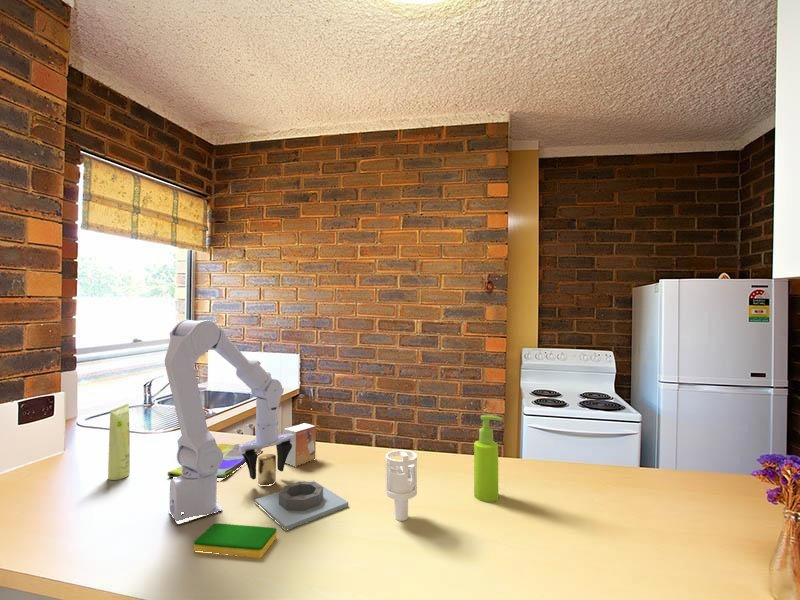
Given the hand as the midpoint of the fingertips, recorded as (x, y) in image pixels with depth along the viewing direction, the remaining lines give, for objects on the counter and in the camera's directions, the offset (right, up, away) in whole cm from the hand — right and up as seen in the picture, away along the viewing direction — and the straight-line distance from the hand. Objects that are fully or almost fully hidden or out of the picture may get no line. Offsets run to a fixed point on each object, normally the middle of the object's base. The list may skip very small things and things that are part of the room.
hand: (267, 474), depth 109 cm
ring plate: (+12, -2, -12) cm, 17 cm away
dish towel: (-19, -3, +14) cm, 24 cm away
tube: (-42, -3, +4) cm, 42 cm away
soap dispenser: (+58, -3, -7) cm, 58 cm away
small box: (+5, -3, +15) cm, 16 cm away
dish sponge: (+3, -3, -28) cm, 28 cm away
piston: (0, -2, 0) cm, 2 cm away
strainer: (+36, -2, -18) cm, 40 cm away
